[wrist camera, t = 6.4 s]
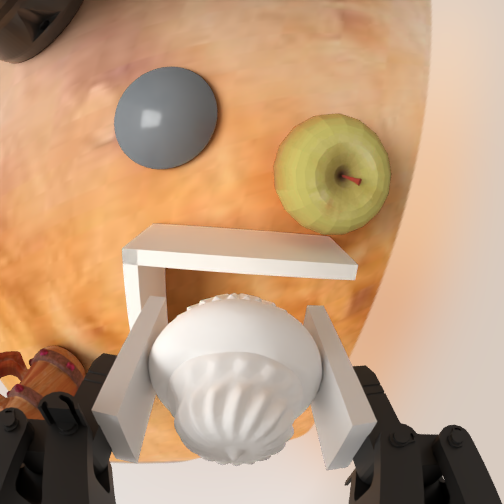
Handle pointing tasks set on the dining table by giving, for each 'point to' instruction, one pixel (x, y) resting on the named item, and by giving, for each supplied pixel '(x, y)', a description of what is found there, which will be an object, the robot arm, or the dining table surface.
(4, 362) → the mug
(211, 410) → the white rounded ribbed piece
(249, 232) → the cubby
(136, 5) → the dining table surface
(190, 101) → the coaster
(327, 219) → the apple
